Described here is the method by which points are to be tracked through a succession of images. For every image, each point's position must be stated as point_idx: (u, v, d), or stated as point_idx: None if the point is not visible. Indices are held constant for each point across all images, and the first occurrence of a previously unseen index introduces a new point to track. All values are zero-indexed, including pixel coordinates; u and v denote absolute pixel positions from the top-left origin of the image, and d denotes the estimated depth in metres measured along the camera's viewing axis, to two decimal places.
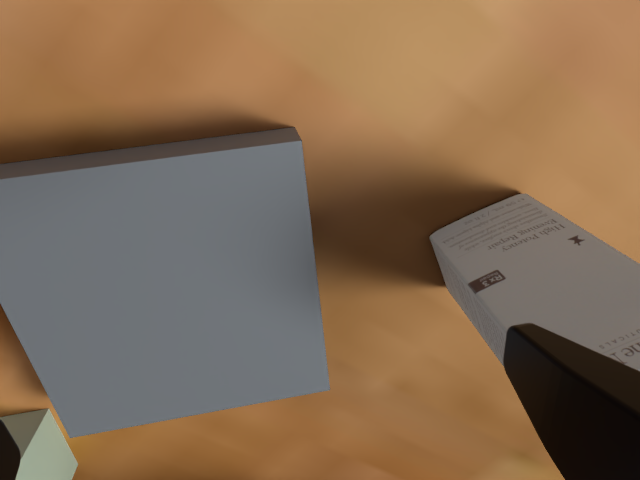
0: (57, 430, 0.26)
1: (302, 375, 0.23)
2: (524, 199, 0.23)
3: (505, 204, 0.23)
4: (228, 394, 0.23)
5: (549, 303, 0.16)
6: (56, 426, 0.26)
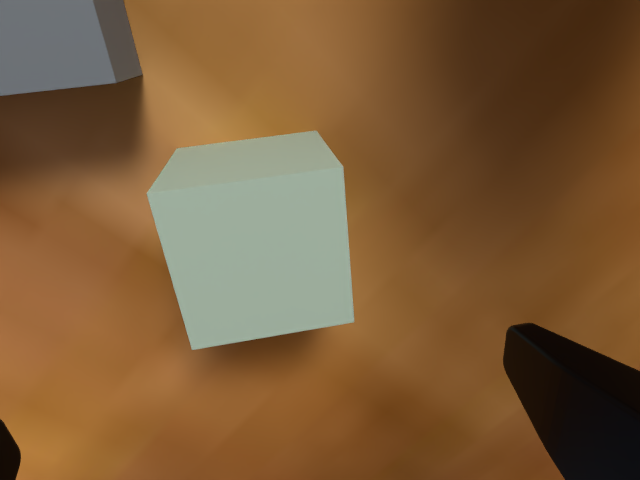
0: (223, 144, 0.15)
1: None
2: None
3: None
4: None
5: None
6: (215, 143, 0.15)
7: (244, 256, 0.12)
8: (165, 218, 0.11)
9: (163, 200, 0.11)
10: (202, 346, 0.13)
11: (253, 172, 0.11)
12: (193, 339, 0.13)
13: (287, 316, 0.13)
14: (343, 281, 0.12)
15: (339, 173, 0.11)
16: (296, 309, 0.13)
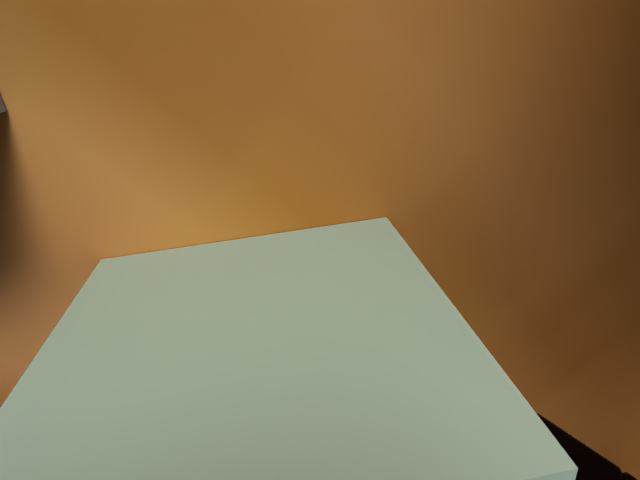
0: (197, 252, 0.07)
1: None
2: None
3: None
4: None
5: None
6: (179, 252, 0.07)
7: None
8: None
9: None
10: None
11: (263, 452, 0.04)
12: None
13: None
14: None
15: None
16: None
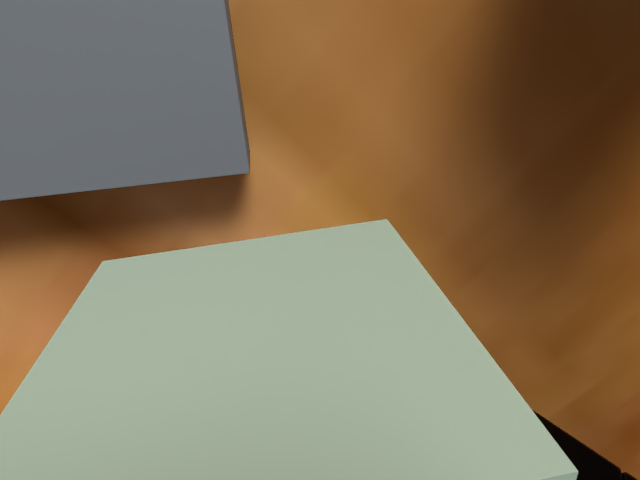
0: (198, 254, 0.07)
1: None
2: None
3: None
4: None
5: None
6: (180, 254, 0.07)
7: None
8: None
9: None
10: None
11: (266, 455, 0.04)
12: None
13: None
14: None
15: None
16: None
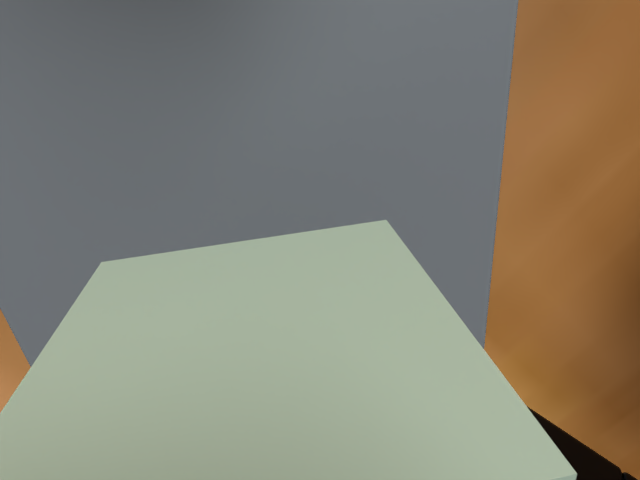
0: (197, 255, 0.07)
1: (460, 16, 0.10)
2: None
3: None
4: (466, 179, 0.12)
5: None
6: (179, 255, 0.07)
7: None
8: None
9: None
10: None
11: (262, 458, 0.04)
12: None
13: None
14: None
15: None
16: None
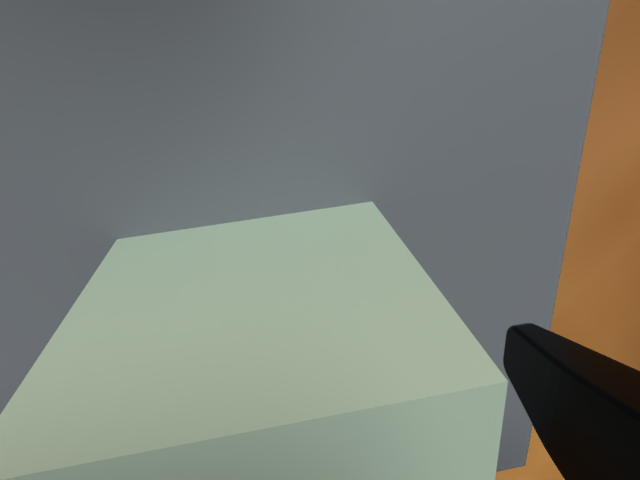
0: (203, 232, 0.08)
1: (535, 7, 0.07)
2: None
3: None
4: (528, 217, 0.09)
5: None
6: (187, 232, 0.08)
7: None
8: None
9: None
10: None
11: (261, 377, 0.04)
12: None
13: None
14: None
15: (496, 396, 0.04)
16: None
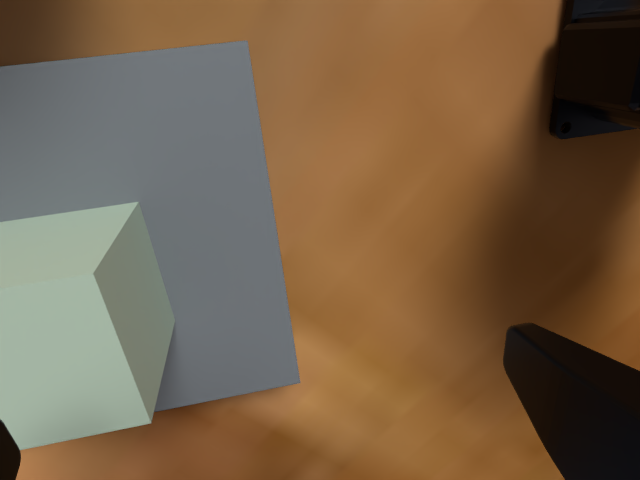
0: (31, 220, 0.14)
1: (210, 93, 0.13)
2: None
3: None
4: (244, 210, 0.15)
5: None
6: (22, 220, 0.14)
7: (0, 367, 0.11)
8: None
9: None
10: None
11: (0, 276, 0.10)
12: None
13: (69, 422, 0.12)
14: (126, 385, 0.11)
15: (90, 280, 0.10)
16: (78, 415, 0.12)
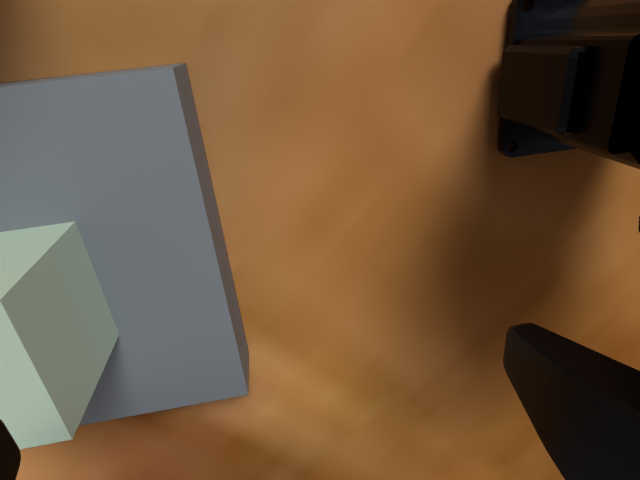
0: None
1: (139, 118, 0.14)
2: None
3: None
4: (181, 230, 0.16)
5: None
6: None
7: None
8: None
9: None
10: None
11: None
12: None
13: None
14: (44, 403, 0.12)
15: None
16: None
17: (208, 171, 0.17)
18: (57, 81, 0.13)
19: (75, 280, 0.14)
